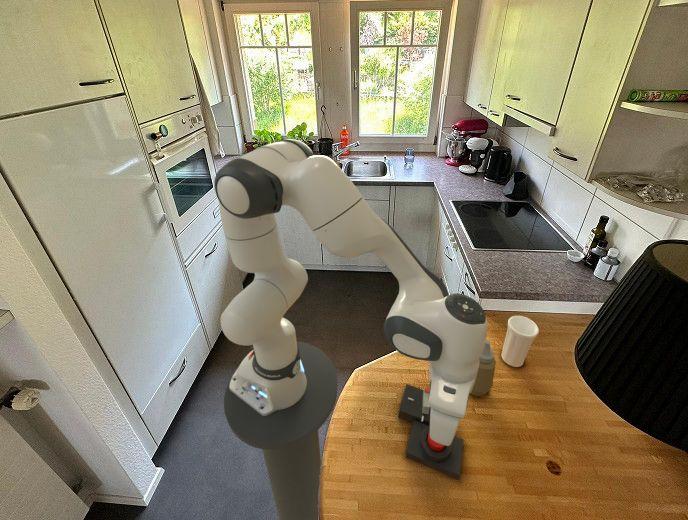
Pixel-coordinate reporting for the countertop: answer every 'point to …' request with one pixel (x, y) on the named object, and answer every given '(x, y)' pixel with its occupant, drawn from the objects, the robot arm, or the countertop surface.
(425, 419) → the control panel
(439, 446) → the power button
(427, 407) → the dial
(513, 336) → the cup
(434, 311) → the robot arm
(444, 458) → the power base
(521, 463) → the countertop surface
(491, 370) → the squeeze bottle
